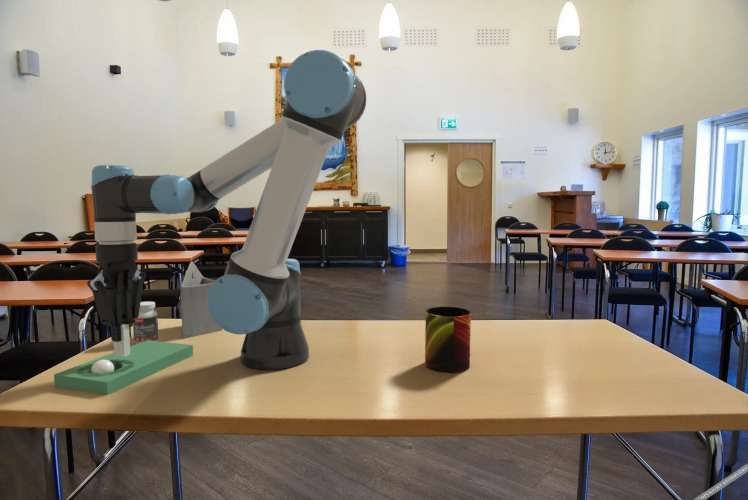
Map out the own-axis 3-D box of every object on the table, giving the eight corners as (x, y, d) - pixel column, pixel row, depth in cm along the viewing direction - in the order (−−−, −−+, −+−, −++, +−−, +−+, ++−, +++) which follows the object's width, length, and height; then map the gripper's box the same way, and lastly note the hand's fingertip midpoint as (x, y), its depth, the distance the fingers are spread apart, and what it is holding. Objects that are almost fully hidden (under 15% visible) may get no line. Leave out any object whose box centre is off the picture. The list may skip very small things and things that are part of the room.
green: (147, 349, 116) (147, 340, 115) (193, 355, 112) (192, 345, 111) (54, 386, 93) (53, 374, 93) (107, 394, 89) (106, 382, 89)
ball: (116, 381, 97) (120, 360, 98) (101, 380, 93) (106, 359, 94) (99, 379, 98) (103, 359, 99) (84, 378, 94) (89, 358, 95)
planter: (212, 338, 125) (209, 264, 123) (182, 338, 125) (178, 264, 123) (230, 322, 142) (228, 257, 140) (203, 322, 141) (200, 257, 139)
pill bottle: (133, 346, 119) (131, 306, 118) (134, 339, 124) (132, 302, 123) (158, 343, 121) (156, 304, 120) (158, 337, 126) (157, 300, 125)
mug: (458, 352, 114) (459, 302, 113) (475, 372, 100) (476, 316, 99) (417, 353, 113) (418, 303, 112) (430, 374, 100) (430, 317, 98)
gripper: (127, 239, 105) (132, 344, 108) (73, 244, 93) (81, 363, 95) (155, 240, 103) (159, 347, 105) (103, 245, 91) (110, 367, 93)
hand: (122, 354), depth 100 cm, fingers closed
